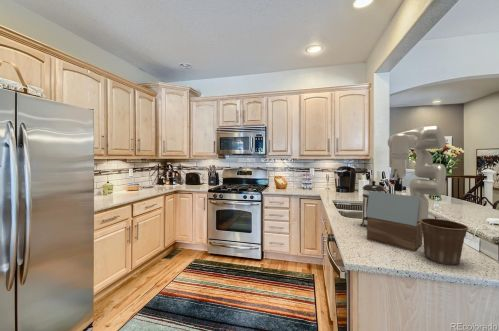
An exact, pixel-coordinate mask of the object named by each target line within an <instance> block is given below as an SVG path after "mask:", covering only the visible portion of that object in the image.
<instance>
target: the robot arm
mask: <svg viewBox="0 0 499 331" xmlns="http://www.w3.org/2000/svg"><path fill="white" fill-rule="evenodd" d="M446 143H447V142H446V137H445V135H444V132H443V130H442V128H441V127H440V126H439V125H434V124H433V125H424V126H417V127H415V128H413V129H411V130H407V131H403V132H399V133H394V134H392V135H390V136H389V137H388V139H387V146H388V148H389V149H391V156H390V157H391V158H390V159H391V165H390V178H393V180H394V192H402V191H403V179H404V178H406V175H407V174H406V173H407V164H406V163H407V161H408V160H409V150H410V149H413V150H414V153H415V156H416V160H415V166H414V175H415V177H417V178H415V179H414V178H413V179H412V180H410V182H409V185H408V186H409V192H410V194H409V196H417V197H420V202H419V211H418V221H420V220H421V219H425V218H429V208H430V206H429V199H428V198H427V196H426V195H429V196H436V197H437V196H438V197H439V196H442V195H443V194H444V191H445V184H446V178H447V168H446V166H445V164H442V163H433V158H434V156H433V155H432V154H431V152H429V150H441V149H443V148H445V147H446Z"/></svg>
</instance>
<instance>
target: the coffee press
mask: <svg viewBox="0 0 499 331" xmlns="http://www.w3.org/2000/svg"><path fill="white" fill-rule="evenodd" d="M369 191H372V192H381V193H385V192H386V191H385V188H384V186H382V185H380V184H376V181H375V180H372V181H371V184H364V185H363V187H362V211H361V212H362V215H361V216H362V217H361V218H362V220H361V222H362V223H361V224H360V226H361V227H362V226H364V227H365V226H367V217H366V213H367V205H368V198H369Z"/></svg>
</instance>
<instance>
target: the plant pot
mask: <svg viewBox="0 0 499 331" xmlns="http://www.w3.org/2000/svg"><path fill="white" fill-rule="evenodd" d="M420 222H421V225H422V230H423V238H422V242H423V254H424V257H425V258H427V259H430V261H431V262H435V263H439V264H441V263H442V264H441V265H450V266H453V265H459V264H460V262H461V257H462V252H463V246H464V241H465V238H466V236H467V230H468V229H469V226H468V225H466V224H463V223H460V222H457V221H453V220H452V221H451V220H448V219H447V220H446V219H441V218H440V219H439V218H430V217H428V218H425V219H421V220H420Z"/></svg>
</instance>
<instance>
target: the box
mask: <svg viewBox="0 0 499 331" xmlns="http://www.w3.org/2000/svg"><path fill="white" fill-rule="evenodd" d="M366 240H369V241H373V242H375V243H380V244H385V245H389V246H392V247H396V248H400V249H404V250H408V251H411V252H416V251H417V250H418V249H419V248H420V247H422V246H423V230H422V225H421V222H420V221H417V226H413V225H408V224H403V223H397V222H392V221H387V220H381V219H376V218H371V217H367V225H366Z"/></svg>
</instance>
